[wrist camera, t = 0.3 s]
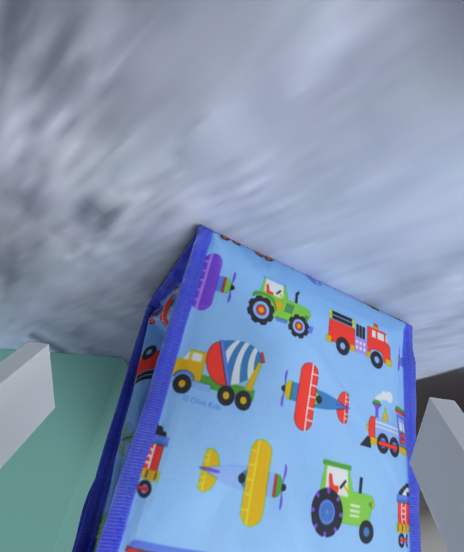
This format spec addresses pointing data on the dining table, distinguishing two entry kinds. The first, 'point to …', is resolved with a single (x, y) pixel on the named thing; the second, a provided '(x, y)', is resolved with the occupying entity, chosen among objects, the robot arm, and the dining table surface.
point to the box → (59, 455)
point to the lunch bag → (258, 418)
